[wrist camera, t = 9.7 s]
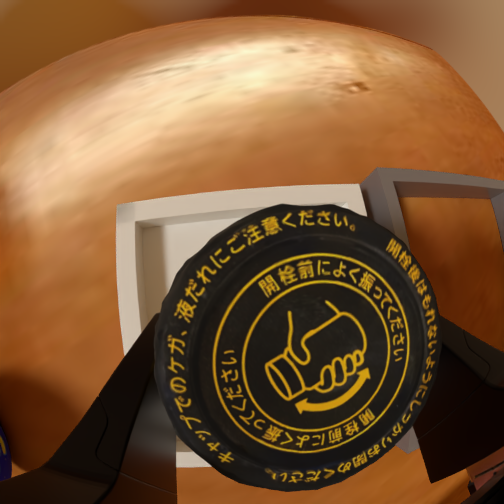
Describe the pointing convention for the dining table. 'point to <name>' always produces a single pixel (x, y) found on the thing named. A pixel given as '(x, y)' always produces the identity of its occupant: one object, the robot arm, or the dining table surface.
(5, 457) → the ornament
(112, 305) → the dining table surface
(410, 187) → the gray square frame
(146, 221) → the tray
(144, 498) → the robot arm
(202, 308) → the condiment
